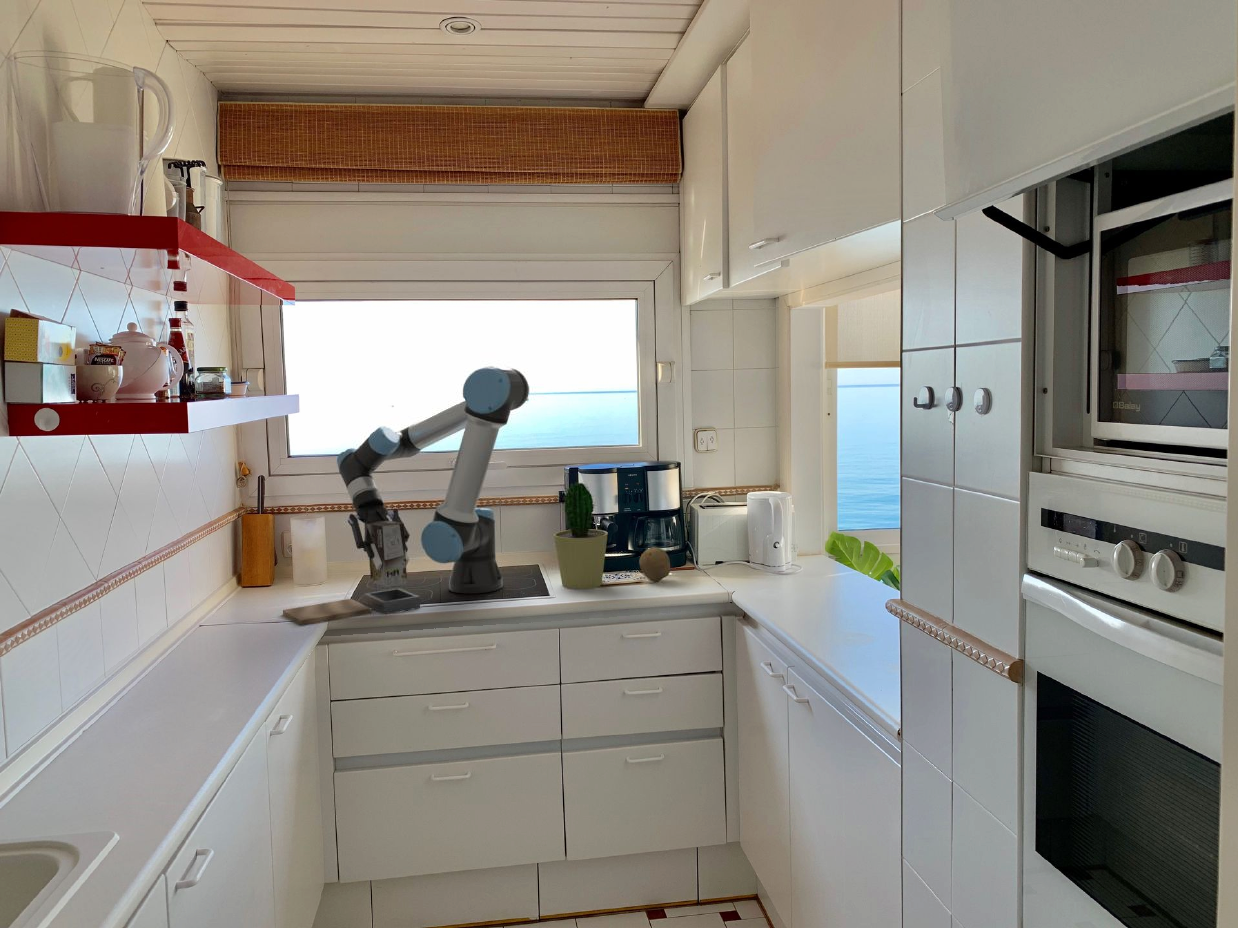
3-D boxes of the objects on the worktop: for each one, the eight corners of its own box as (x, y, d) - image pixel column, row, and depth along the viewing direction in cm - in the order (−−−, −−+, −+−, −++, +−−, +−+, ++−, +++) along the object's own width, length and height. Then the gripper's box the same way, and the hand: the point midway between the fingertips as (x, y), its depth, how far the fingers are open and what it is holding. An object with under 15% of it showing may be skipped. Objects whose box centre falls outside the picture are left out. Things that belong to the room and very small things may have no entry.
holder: (399, 598, 252) (399, 587, 252) (420, 607, 242) (419, 596, 241) (364, 604, 246) (363, 593, 246) (383, 614, 236) (383, 602, 235)
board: (351, 602, 248) (350, 598, 248) (371, 612, 237) (370, 608, 237) (282, 614, 238) (282, 609, 238) (300, 625, 227) (300, 620, 226)
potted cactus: (616, 587, 260) (614, 481, 257) (563, 592, 255) (560, 484, 252) (599, 576, 274) (596, 476, 271) (549, 581, 269) (546, 479, 266)
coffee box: (408, 583, 242) (404, 522, 241) (385, 587, 238) (382, 525, 237) (391, 578, 249) (388, 519, 248) (369, 582, 245) (366, 522, 243)
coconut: (641, 577, 271) (640, 544, 270) (671, 577, 270) (670, 544, 269) (638, 584, 262) (638, 550, 261) (670, 584, 261) (669, 550, 260)
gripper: (396, 502, 260) (424, 567, 248) (327, 510, 248) (353, 578, 237) (402, 485, 255) (431, 550, 244) (332, 492, 243) (359, 561, 232)
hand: (393, 564), depth 240 cm, fingers closed on coffee box, 7 cm apart
